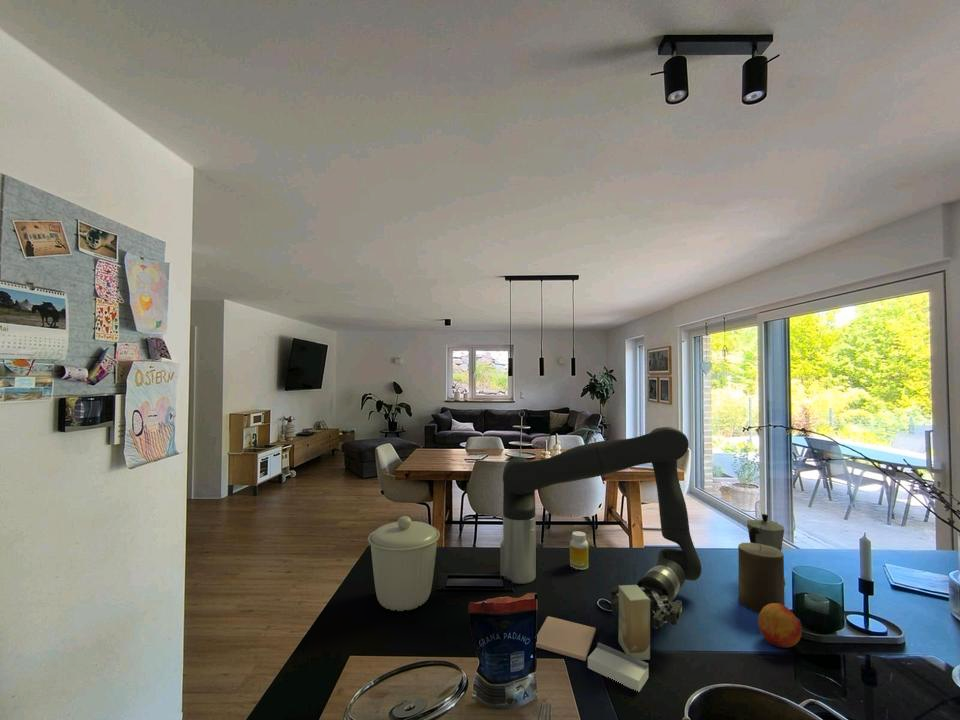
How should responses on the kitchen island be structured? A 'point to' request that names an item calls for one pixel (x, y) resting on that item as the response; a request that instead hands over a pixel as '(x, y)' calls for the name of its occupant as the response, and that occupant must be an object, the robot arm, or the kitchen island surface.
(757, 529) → the coffeepot
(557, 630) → the coaster
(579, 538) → the supplement bottle
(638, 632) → the skincare box
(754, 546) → the pillar candle
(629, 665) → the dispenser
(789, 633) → the fruit
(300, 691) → the kitchen island surface
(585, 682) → the kitchen island surface
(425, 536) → the canister
